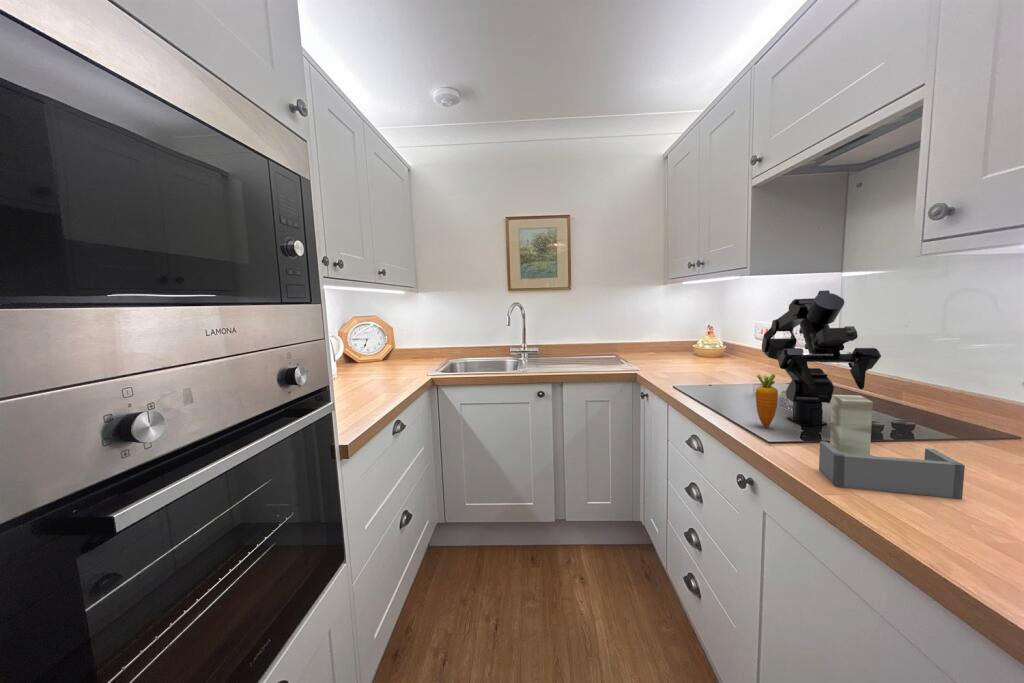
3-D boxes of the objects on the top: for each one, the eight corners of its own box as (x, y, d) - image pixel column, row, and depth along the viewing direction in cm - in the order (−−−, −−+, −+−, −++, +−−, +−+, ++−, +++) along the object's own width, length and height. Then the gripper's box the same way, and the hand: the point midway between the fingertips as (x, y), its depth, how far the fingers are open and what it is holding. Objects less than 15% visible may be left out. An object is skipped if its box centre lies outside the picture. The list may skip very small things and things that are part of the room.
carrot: (750, 426, 101) (751, 373, 99) (762, 423, 103) (763, 371, 101) (769, 432, 96) (770, 376, 95) (781, 428, 98) (782, 373, 96)
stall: (818, 469, 75) (820, 441, 75) (931, 479, 69) (933, 448, 69) (835, 486, 69) (837, 455, 68) (962, 498, 63) (964, 465, 62)
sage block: (829, 449, 84) (831, 394, 83) (857, 451, 82) (860, 395, 81) (840, 458, 79) (842, 400, 78) (869, 461, 78) (872, 401, 76)
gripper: (783, 316, 92) (799, 367, 83) (878, 313, 85) (907, 368, 76) (772, 344, 100) (785, 393, 91) (858, 343, 94) (882, 396, 84)
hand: (837, 387), depth 85 cm, fingers open, 9 cm apart
